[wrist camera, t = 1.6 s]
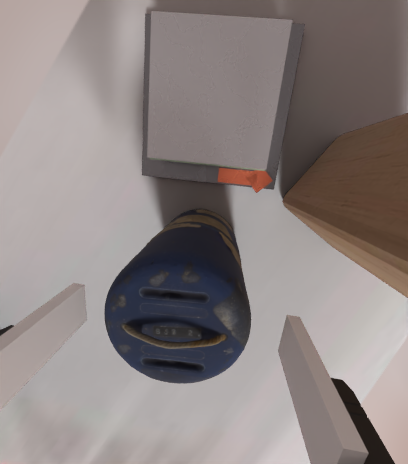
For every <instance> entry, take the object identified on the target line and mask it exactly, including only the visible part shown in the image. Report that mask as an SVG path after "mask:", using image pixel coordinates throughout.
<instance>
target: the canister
mask: <svg viewBox="0 0 408 464" xmlns="http://www.w3.org/2000/svg"><path fill="white" fill-rule="evenodd" d="M105 324H106V329H107V332H108V336H109V338H110V340H111V342H112V344H113V346H114V348H115V349H116V351H117V352H118V353H119V355H120V356H121V357H122V358H123V359H124V360H125V361H126V362H127V363H128V364H129V365H130V366H131V367H133V368H134V369H136V370H137V371H139V372H141V373H143V374H144V375H146V376H148V377H150V378H153V379H156V380H160V381H164V382H169V383H195V382H200V381H203V380H206V379H209V378H212V377H214V376H217V375H219V374H220V373H222V372H223V371H225V370H226V369H228V368H229V367H230V366H231V365H232V364H233V363H234V362H235V361H236V360H237V359H238V357H239V356H240V355H241V353H242V351H243V350H244V348H245V346H246V343H247V341H248V338H249V334H250V328H251V312H250V305H249V300H248V296H247V292H246V288H245V282H244V277H243V272H242V268H241V259H240V254H239V250H238V246H237V242H236V238H235V234H234V232H233V230H232V228H231V226H230V225H229V224H228V223H227V221H226V220H225V219H224V218H222V217H221V216H220V215H218V214H216V213H214V212H212V211H208V210H202V209H196V210H190V211H187V212H184V213H182V214H180V215H179V216H177V217H176V218H175V219H174V220H173V221H172V222H171V223H169V224H168V225H167V226H166V227H165V228H164V229H163V230H162V231H161V232H160V233H158V234H157V235H156V236H155V237H154V238H152V239H151V241H150V242H149V243H147V245H146V246H145V247H144V248H143V249H142V250H141V252H140V253H139V254H137V255H136V256H135V257H134V258H133V259H132V260H131V261H130V262H129V264H128V265H127V266H126V267H125V268H124V269H123V270H122V271H121V272H120V273H119V275H118V276H117V277H116V279H115V280H114V282H113V284H112V285H111V287H110V290H109V292H108V295H107V298H106V303H105Z"/></svg>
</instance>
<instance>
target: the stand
mask: <svg viewBox="0 0 408 464" xmlns="http://www.w3.org/2000/svg"><path fill="white" fill-rule="evenodd" d="M304 27H305V24H294V23H292V20H288V19H273V18H257V17H241V16H225V15H209V14H193V13H178V12H162V11H151V14H146V15H145V62H144V108H143V155H142V175H145V176H154V177H163V178H173V179H182V180H191V181H200V182H209V183H218V184H228V185H237V186H246V187H252V188H253V189H254V190H255V192H256V193H257V192H258V191H260V190H261V189H262V188H264V189H273V190H274V186H275V180H276V175H277V170H278V164H279V159H280V154H281V149H282V143H283V138H284V133H285V127H286V122H287V117H288V111H289V106H290V101H291V96H292V90H293V85H294V80H295V74H296V69H297V64H298V58H299V53H300V48H301V43H302V37H303V32H304Z"/></svg>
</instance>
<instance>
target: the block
mask: <svg viewBox="0 0 408 464" xmlns="http://www.w3.org/2000/svg"><path fill="white" fill-rule="evenodd" d="M283 204H284V206H285V207H286V208H287V209H288V210H289V211H290V212H292V213H293V214H294V215H295V216H296V217H298V218H299V219H300V220H301V221H302V222H303V223H305V224H306V225H307V226H308V227H309V228H311V229H312V230H313V231H314V232H315V233H317V234H318V235H319V236H320V237H321V238H323V239H324V240H325V241H326V242H327V243H329V244H330V245H331V246H332V247H333V248H335V249H336V250H338V251H339V252H341V253H342V254H344V255H345V256H347V257H348V258H350V259H351V260H352V261H354V262H355V263H357V264H358V265H360V266H361V267H363V268H364V269H366V270H367V271H369V272H370V273H372V274H373V275H375V276H376V277H378V278H379V279H380V280H382V281H383V282H385V283H386V284H388V285H389V286H391V287H392V288H394V289H395V290H397V291H398V292H400V293H401V294H403V295H404V296H406V297H407V298H408V113H406V114H403V115H400V116H397V117H394V118H391V119H388V120H385V121H382V122H379V123H376V124H372V125H369V126H366V127H363V128H360V129H357V130H354V131H351V132H348V133H345V134H343V135H341V136H339V137H337V138H336V140H335V141H334V142H333V143H332V144H331V145H330V146H329V147H328V148H327V149H326V151H325V152H324V153H323V154H322V155H321V156H320V157H319V158H318V159H317V161H316V162H315V163H314V164H313V165H312V166H311V167H310V168H309V169H308V170H307V172H306V173H305V174H304V175H303V176H302V177H301V178H300V179H299V180H298V181H297V183H296V184H295V185H294V186H293V187H292V188H291V189H290V190H289V191H288V192H287V194H286V195H285V196H284V199H283Z"/></svg>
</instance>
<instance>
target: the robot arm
mask: <svg viewBox="0 0 408 464" xmlns="http://www.w3.org/2000/svg"><path fill="white" fill-rule="evenodd" d="M86 320H87V317H86V300H85V285H83V284H76V283H73V284H72V285H70V286H69V287H68V288H66V289H65V290H63V291H62V292H61V293H59V294H58V295H56V296H55V297H54V298H52V299H51V300H50V301H48V302H47V303H45V304H44V305H43V306H41V307H40V308H38V309H37V310H36V311H34V312H33V313H32V314H30V315H29V316H27V317H26V318H25V319H23V320H22V321H20V322H19V323H18V324H16V325H15V326H13V325H10V326H8V327H6V328H4V329H2V330H0V411H1V410H2V409H3V408H4V407H5V406H6V405H7V403H8V402H9V401H10V400H11V399H12V398H13V397H14V396H15V395H16V394H17V393H18V392H19V391H20V390H21V389H22V388H23V387H24V386H25V384H26V383H27V382H28V381H29V380H30V379H31V378H32V377H33V376H34V375H35V374H36V373H37V372H38V371H39V370H40V369H41V368H42V367H43V365H44V364H45V363H46V362H47V361H48V360H49V359H50V358H51V357H52V356H53V355H54V354H55V353H56V352H57V351H58V350H59V349H60V348H61V347H62V345H63V344H64V343H65V342H66V341H67V340H68V339H69V338H70V337H71V336H72V335H73V334H74V333H75V332H76V331H77V330H78V329H79V328H80V326H81V325H82V324H83V323H84V322H85V321H86ZM278 352H279V356H280V359H281V363H282V366H283V370H284V373H285V376H286V380H287V383H288V387H289V390H290V394H291V397H292V401H293V404H294V408H295V411H296V414H297V418H298V421H299V425H300V428H301V432H302V435H303V439H304V442H305V446H306V449H307V452H308V456H309V459H310V463H311V464H395V463H394V461H393V460H392V458H391V456H390V454H389V453H388V451H387V449H386V448H385V446H384V444H383V442H382V441H381V439H380V437H379V435H378V434H377V432H376V430H375V429H374V427H373V425H372V423H371V422H370V420H369V418H367V415H366V413H365V411H364V410H363V408H362V407H361V404H360V403H359V401H358V399H357V397H356V396H355V394H354V392H353V391H352V390H351V389H350V388H349V387H348V385H347V384H346V383H345V382H344V381H343V380H340V379H334V378H330V376H329V374H328V372H327V370H326V368H325V366H324V364H323V362H322V360H321V358H320V356H319V354H318V352H317V350H316V348H315V346H314V344H313V342H312V340H311V338H310V336H309V335H308V333H307V331H306V329H305V327H304V325H303V323H302V321H301V319H300V317H297V316H290V315H287V317H286V321H285V325H284V329H283V333H282V337H281V341H280V345H279V349H278Z"/></svg>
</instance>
